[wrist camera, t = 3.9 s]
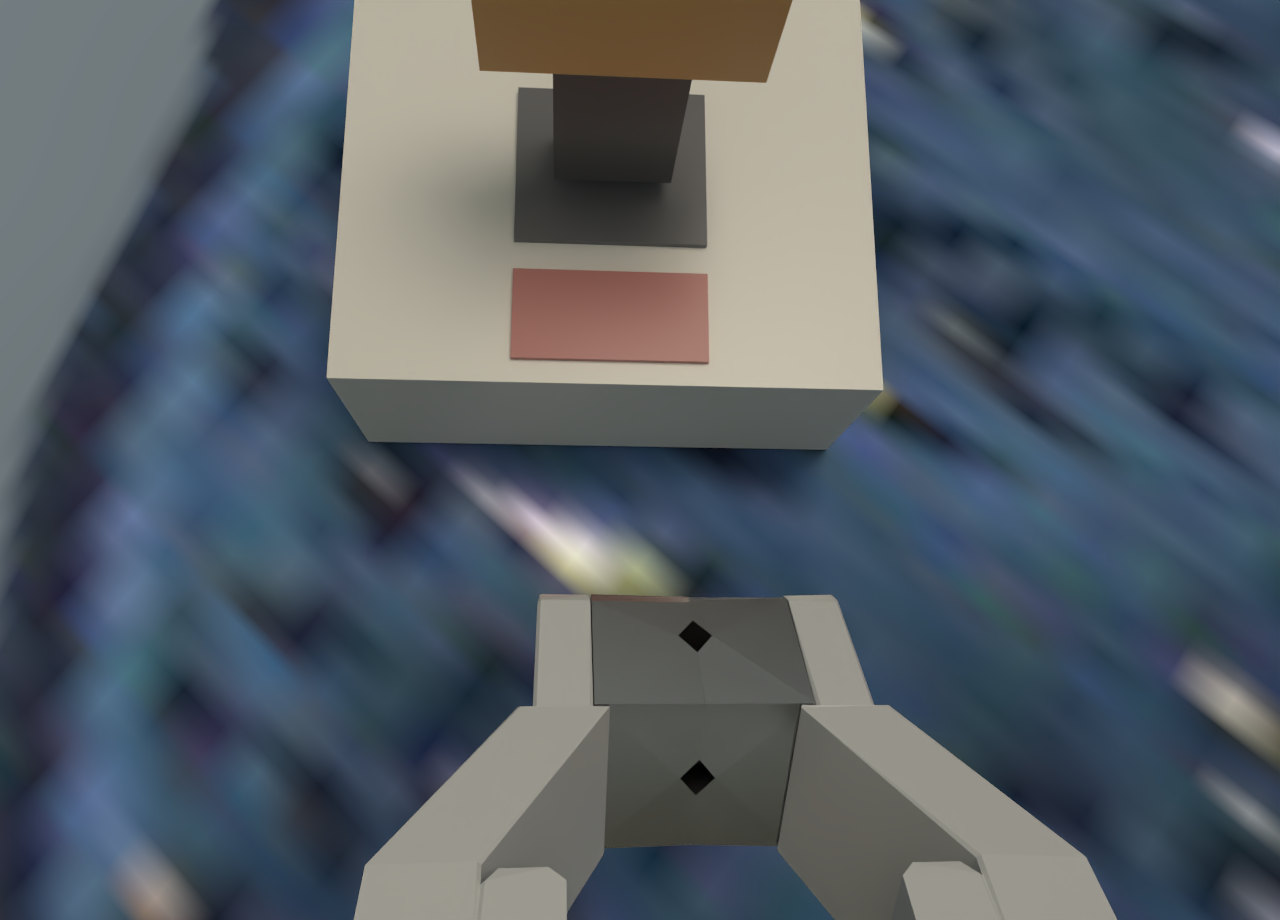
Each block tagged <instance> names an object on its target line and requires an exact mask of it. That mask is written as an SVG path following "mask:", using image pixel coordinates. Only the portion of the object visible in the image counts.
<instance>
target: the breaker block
mask: <svg viewBox="0 0 1280 920" xmlns="http://www.w3.org/2000/svg"><path fill="white" fill-rule="evenodd" d="M327 380H328V381H329V383H330V384H331V386H332V387H333V389H334V390H335V392H336V393H337V395H338V396H339V398H340V399H341V401H342V402H343V404H344V405H345V407H346V408H347V410H348V411H349V413H350V414H351V416H352V417H353V419H354V421H355V422H356V424H357V425H358V427H359V428H360V430H361V431H362V433H363V434H364V436H365V437H366V439H367V440H368V442H411V443H468V444H524V445H581V446H638V447H694V448H751V449H808V450H827V449H828V448H829V447H830V446H831V445H832V444H833V443H834V441H835V440H836V439H837V438H838V437H839V436H840V435H841V434H842V433H843V432H844V431H845V430H846V429H847V428H848V427H849V426H850V425H851V424H852V423H853V421H854V420H855V419H856V418H857V417H858V416H859V415H860V414H861V413H862V412H863V411H864V410H865V409H866V408H867V407H868V406H869V405H870V404H871V403H872V401H873V400H874V399H875V398H876V397H877V396H878V395H879V394H880V393H881V392H882V391H883V377H882V361H881V344H880V328H879V311H878V294H877V278H876V261H875V245H874V228H873V211H872V195H871V178H870V162H869V145H868V128H867V112H866V95H865V79H864V62H863V46H862V29H861V12H860V0H793V1H792V4H791V7H790V10H789V13H788V16H787V19H786V23H785V26H784V29H783V32H782V35H781V38H780V41H779V44H778V48H777V51H776V54H775V57H774V60H773V63H772V66H771V70H770V73H769V76H768V79H767V82H766V83H757V82H734V81H710V80H692V82H691V87H690V92H689V97H688V102H687V107H686V112H685V116H684V121H683V126H682V131H681V136H680V141H679V146H678V151H677V156H676V161H675V166H674V170H673V175H672V180H671V183H652V182H624V181H595V180H567V179H554V142H553V74H545V73H521V72H497V71H480V70H479V61H478V53H477V45H476V37H475V28H474V20H473V12H472V3H471V0H355V3H354V16H353V30H352V43H351V56H350V70H349V83H348V97H347V110H346V123H345V137H344V150H343V164H342V177H341V190H340V204H339V217H338V230H337V244H336V257H335V271H334V284H333V297H332V311H331V324H330V338H329V351H328V364H327Z"/></svg>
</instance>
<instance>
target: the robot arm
mask: <svg viewBox="0 0 1280 920" xmlns="http://www.w3.org/2000/svg"><path fill="white" fill-rule="evenodd" d="M690 844H691V845H739V846H778V848H777V851H778V852H779V853H780V854H781V855H782V857H783V858H784V859H785V860H786V861H787V863H788V864H789V865H790V866H791V867H792V869H793V870H794V871H795V872H796V873H797V875H798V876H799V877H800V878H801V879H802V881H803V882H804V883H805V884H806V885H807V887H808V888H809V889H810V890H811V892H812V893H813V894H814V895H815V896H816V898H817V899H818V900H819V901H820V902H821V904H822V905H823V906H824V907H825V908H826V910H827V911H828V912H829V913H830V914H831V916H832V917H833V918H834V919H835V920H1117V918H1116V916H1115V914H1114V912H1113V910H1112V908H1111V906H1110V904H1109V902H1108V900H1107V898H1106V896H1105V894H1104V892H1103V890H1102V888H1101V886H1100V884H1099V882H1098V880H1097V878H1096V876H1095V874H1094V872H1093V870H1092V868H1091V866H1090V864H1089V862H1088V860H1087V858H1086V857H1085V856H1084V855H1083V854H1082V853H1080V852H1079V851H1078V850H1076V849H1075V848H1074V847H1072V846H1071V845H1070V844H1069V843H1067V842H1066V841H1065V840H1063V839H1062V838H1061V837H1059V836H1058V835H1057V834H1056V833H1054V832H1053V831H1052V830H1050V829H1049V828H1048V827H1046V826H1045V825H1044V824H1043V823H1041V822H1040V821H1039V820H1037V819H1036V818H1035V817H1033V816H1032V815H1031V814H1030V813H1028V812H1027V811H1026V810H1024V809H1023V808H1022V807H1020V806H1019V805H1018V804H1017V803H1015V802H1014V801H1013V800H1011V799H1010V798H1009V797H1007V796H1006V795H1005V794H1004V793H1002V792H1001V791H1000V790H998V789H997V788H996V787H994V786H993V785H992V784H991V783H989V782H988V781H987V780H985V779H984V778H983V777H981V776H980V775H979V774H977V773H976V772H975V771H974V770H972V769H971V768H970V767H968V766H967V765H966V764H964V763H963V762H962V761H961V760H959V759H958V758H957V757H955V756H954V755H953V754H951V753H950V752H949V751H948V750H946V749H945V748H944V747H942V746H941V745H940V744H938V743H937V742H936V741H935V740H933V739H932V738H931V737H929V736H928V735H927V734H925V733H924V732H923V731H922V730H920V729H919V728H918V727H916V726H915V725H914V724H912V723H911V722H910V721H909V720H907V719H906V718H905V717H903V716H902V715H901V714H899V713H898V712H897V711H896V710H894V709H893V708H892V707H890V706H889V705H874V703H873V700H872V697H871V694H870V691H869V689H868V686H867V683H866V680H865V677H864V674H863V671H862V669H861V666H860V663H859V660H858V657H857V654H856V651H855V649H854V646H853V643H852V640H851V637H850V634H849V632H848V629H847V626H846V623H845V620H844V617H843V614H842V612H841V609H840V606H839V603H838V600H836V599H835V598H834V597H833V596H832V595H801V596H783V598H780V597H770V598H688V597H669V596H629V595H591V598H589V596H588V595H565V594H540V596H539V600H538V605H537V627H536V650H535V672H534V695H533V706H528V707H517V708H516V709H515V711H514V712H513V713H512V714H511V715H510V716H509V717H508V718H507V719H506V720H505V721H504V722H503V723H502V724H501V725H500V726H499V727H498V728H497V729H496V730H495V731H494V732H493V733H492V734H491V735H490V736H489V737H488V738H487V740H486V741H485V742H484V743H483V744H482V745H481V746H480V747H479V748H478V749H477V750H476V751H475V752H474V753H473V754H472V755H471V756H470V757H469V758H468V759H467V760H466V761H465V762H464V763H463V764H462V765H461V766H460V767H459V769H458V770H457V771H456V772H455V773H454V774H453V775H452V776H451V777H450V778H449V779H448V780H447V781H446V782H445V783H444V784H443V785H442V786H441V787H440V788H439V789H438V790H437V791H436V792H435V793H434V794H433V795H432V796H431V798H430V799H429V800H428V801H427V802H426V803H425V804H424V805H423V806H422V807H421V808H420V809H419V810H418V811H417V812H416V813H415V814H414V815H413V816H412V817H411V818H410V819H409V820H408V821H407V822H406V823H405V824H404V825H403V827H402V828H401V829H400V830H399V831H398V832H397V833H396V834H395V835H394V836H393V837H392V838H391V839H390V840H389V841H388V842H387V843H386V844H385V845H384V846H383V847H382V848H381V849H380V850H379V851H378V852H377V853H376V854H375V856H374V857H373V858H372V859H371V860H370V861H369V862H368V863H367V864H366V865H365V868H364V873H363V878H362V883H361V887H360V892H359V897H358V902H357V907H356V912H355V917H354V920H567V912H568V910H569V909H570V907H571V905H572V904H573V902H574V901H575V899H576V897H577V896H578V894H579V893H580V891H581V889H582V888H583V886H584V885H585V883H586V881H587V880H588V878H589V877H590V875H591V873H592V872H593V870H594V868H595V867H596V865H597V864H598V862H599V860H600V859H601V857H602V856H603V854H604V848H623V847H647V846H672V845H690Z"/></svg>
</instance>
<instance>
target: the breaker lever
mask: <svg viewBox="0 0 1280 920" xmlns="http://www.w3.org/2000/svg"><path fill="white" fill-rule="evenodd" d="M792 1H793V0H471V3H472V12H473V20H474V28H475V37H476V45H477V53H478V61H479V70H480V71H497V72H521V73H545V74H553V142H554V179H567V180H595V181H624V182H652V183H671V180H672V175H673V170H674V166H675V161H676V156H677V151H678V146H679V141H680V136H681V131H682V126H683V121H684V116H685V112H686V107H687V102H688V97H689V92H690V87H691V82H692V80H710V81H734V82H757V83H766V82H767V79H768V76H769V73H770V70H771V66H772V63H773V60H774V57H775V54H776V51H777V48H778V44H779V41H780V38H781V35H782V32H783V29H784V26H785V23H786V19H787V16H788V13H789V10H790V7H791V4H792Z"/></svg>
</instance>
